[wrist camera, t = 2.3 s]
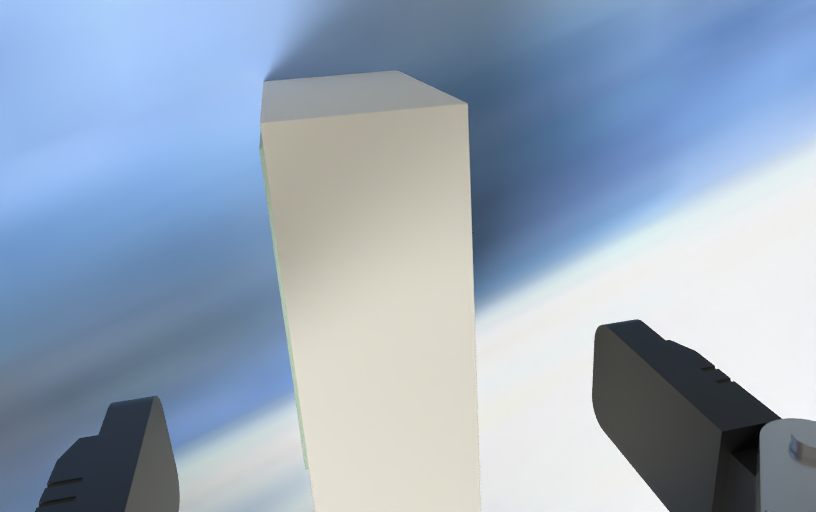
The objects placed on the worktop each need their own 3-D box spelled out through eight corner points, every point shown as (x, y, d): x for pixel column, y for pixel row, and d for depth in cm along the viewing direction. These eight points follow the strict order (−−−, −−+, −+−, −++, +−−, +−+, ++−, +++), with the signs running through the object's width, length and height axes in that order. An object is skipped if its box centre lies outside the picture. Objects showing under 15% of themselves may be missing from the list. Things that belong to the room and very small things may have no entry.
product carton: (401, 69, 21) (474, 102, 13) (420, 357, 24) (486, 511, 17) (258, 81, 20) (251, 124, 12) (299, 376, 23) (313, 544, 16)
